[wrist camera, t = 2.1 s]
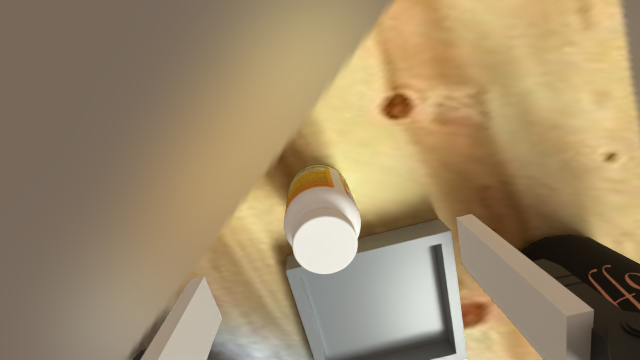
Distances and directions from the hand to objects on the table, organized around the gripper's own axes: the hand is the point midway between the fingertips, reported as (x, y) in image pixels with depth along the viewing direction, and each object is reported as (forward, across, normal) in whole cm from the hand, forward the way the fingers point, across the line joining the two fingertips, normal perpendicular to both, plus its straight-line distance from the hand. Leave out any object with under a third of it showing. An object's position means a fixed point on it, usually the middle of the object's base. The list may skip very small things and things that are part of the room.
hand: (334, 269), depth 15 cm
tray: (+12, +2, -13) cm, 18 cm away
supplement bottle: (+13, 0, 0) cm, 13 cm away
